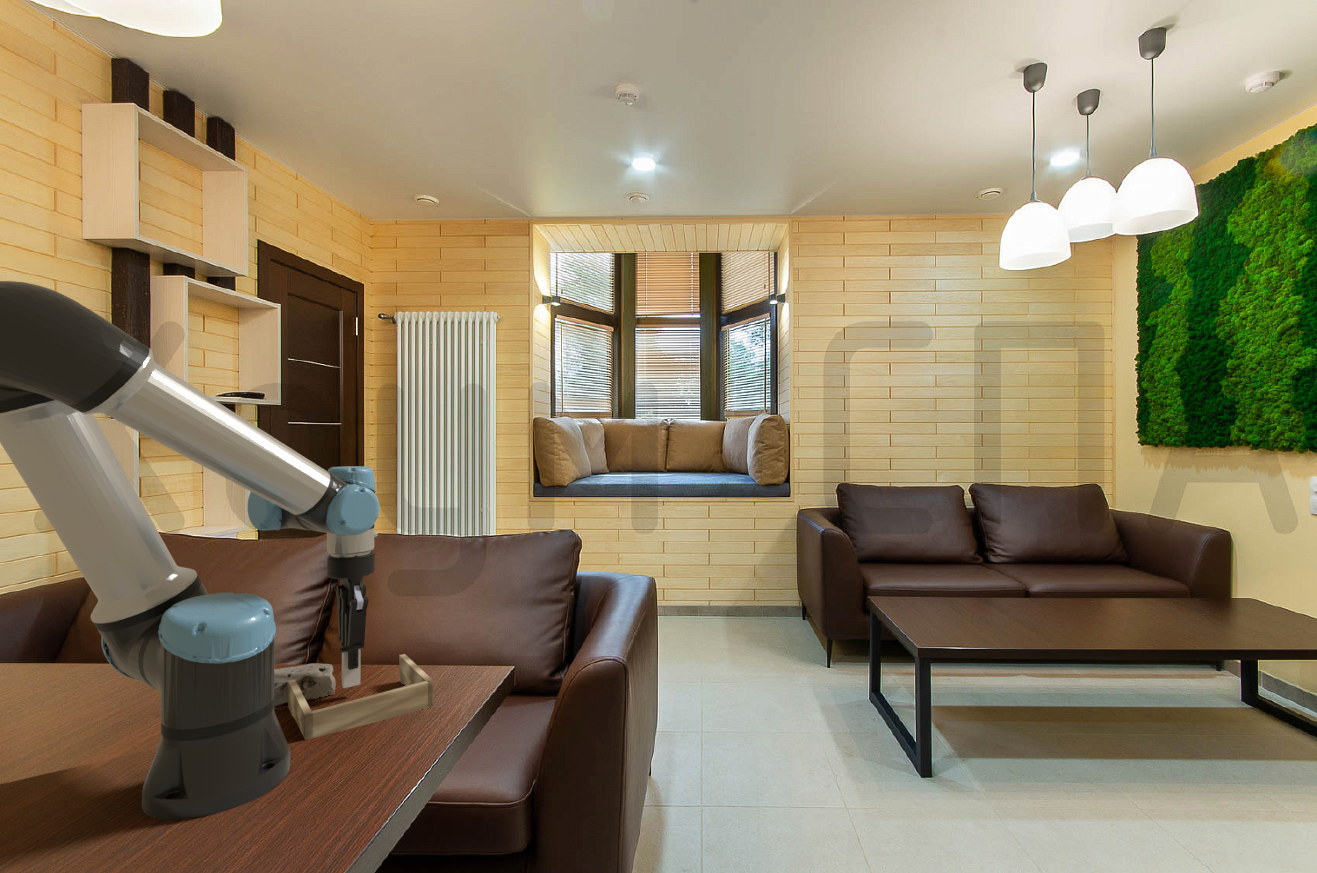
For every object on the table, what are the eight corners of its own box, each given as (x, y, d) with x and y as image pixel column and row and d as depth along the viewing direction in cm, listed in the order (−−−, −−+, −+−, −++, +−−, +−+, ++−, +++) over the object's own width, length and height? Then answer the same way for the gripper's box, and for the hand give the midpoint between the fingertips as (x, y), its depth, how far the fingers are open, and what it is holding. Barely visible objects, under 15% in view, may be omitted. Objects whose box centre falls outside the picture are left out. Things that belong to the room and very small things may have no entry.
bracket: (434, 710, 99) (433, 681, 99) (305, 749, 87) (305, 715, 87) (404, 680, 111) (404, 654, 111) (288, 710, 99) (288, 681, 99)
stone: (348, 691, 105) (330, 678, 112) (343, 660, 105) (326, 649, 112) (262, 725, 96) (249, 708, 103) (257, 691, 96) (244, 676, 103)
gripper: (384, 555, 101) (384, 691, 101) (364, 545, 111) (364, 668, 111) (336, 561, 96) (335, 704, 96) (319, 550, 106) (319, 679, 106)
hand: (351, 684), depth 104 cm, fingers closed
